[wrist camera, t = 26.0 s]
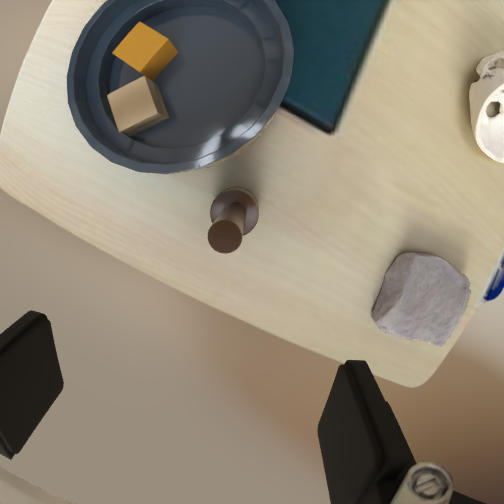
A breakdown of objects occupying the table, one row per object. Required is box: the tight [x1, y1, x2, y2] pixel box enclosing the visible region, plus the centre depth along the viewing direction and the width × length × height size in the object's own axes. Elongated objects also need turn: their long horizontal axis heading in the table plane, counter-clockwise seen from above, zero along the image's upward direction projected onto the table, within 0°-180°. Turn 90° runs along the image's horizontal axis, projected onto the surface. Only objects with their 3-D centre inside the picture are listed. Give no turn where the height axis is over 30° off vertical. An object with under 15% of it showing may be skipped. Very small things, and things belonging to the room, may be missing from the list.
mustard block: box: [112, 22, 178, 81], centre depth 25 cm, size 4×4×4 cm
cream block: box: [107, 76, 169, 135], centre depth 26 cm, size 4×4×4 cm
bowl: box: [67, 0, 294, 174], centre depth 25 cm, size 21×21×6 cm
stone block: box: [372, 252, 471, 346], centre depth 33 cm, size 12×5×10 cm
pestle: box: [208, 187, 258, 253], centre depth 26 cm, size 4×4×12 cm
